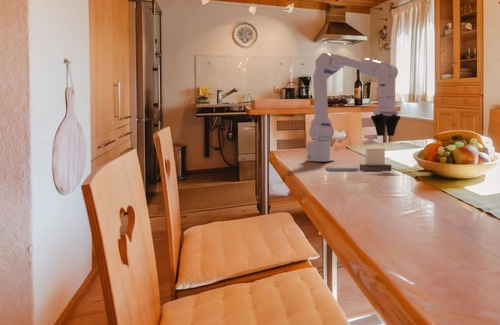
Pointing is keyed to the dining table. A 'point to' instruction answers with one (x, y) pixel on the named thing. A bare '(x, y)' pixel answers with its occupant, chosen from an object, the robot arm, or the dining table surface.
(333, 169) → the tile
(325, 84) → the robot arm
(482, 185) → the dining table surface
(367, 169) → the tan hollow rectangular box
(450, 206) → the dining table surface
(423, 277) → the dining table surface
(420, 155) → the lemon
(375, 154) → the tan rectangular post
